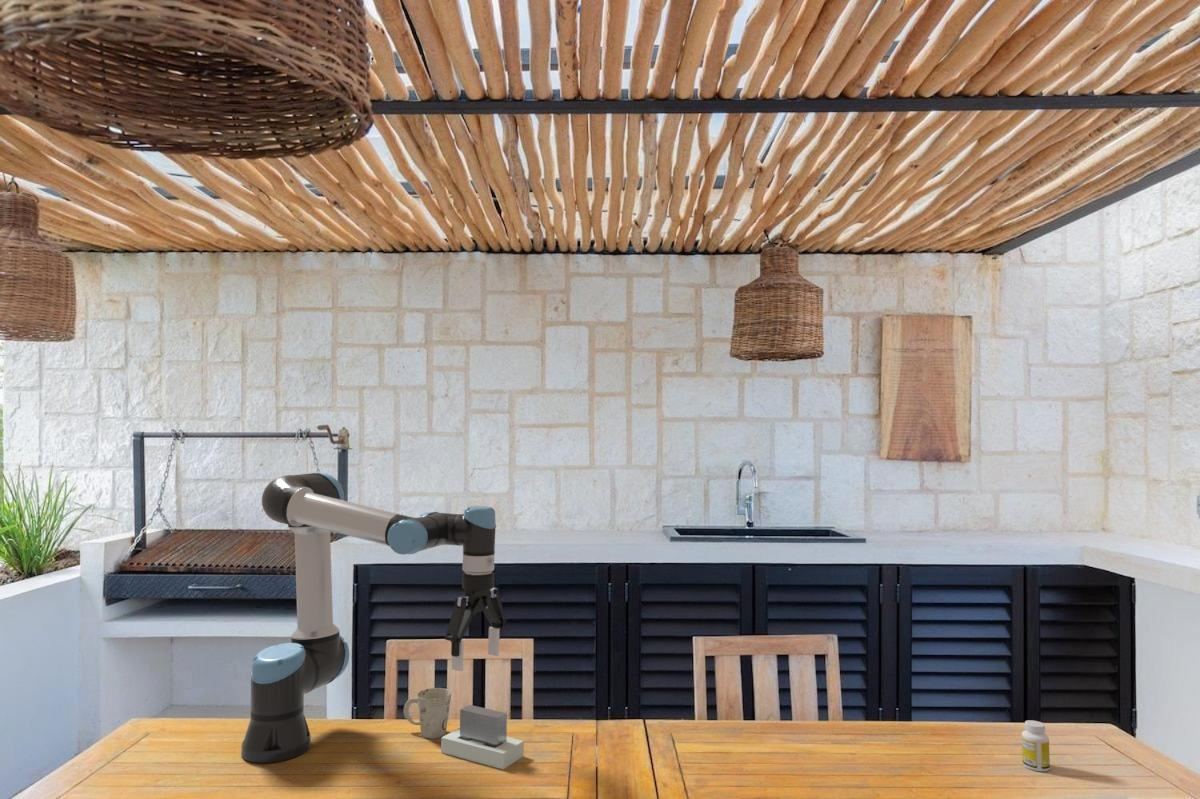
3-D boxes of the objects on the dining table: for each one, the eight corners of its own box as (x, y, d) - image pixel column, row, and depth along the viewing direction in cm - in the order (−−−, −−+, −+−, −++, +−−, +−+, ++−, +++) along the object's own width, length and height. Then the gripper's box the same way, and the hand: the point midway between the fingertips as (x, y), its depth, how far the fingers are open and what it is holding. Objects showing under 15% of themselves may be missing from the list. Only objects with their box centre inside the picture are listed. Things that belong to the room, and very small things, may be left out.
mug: (442, 742, 183) (443, 700, 183) (394, 737, 185) (395, 696, 185) (455, 728, 191) (456, 689, 191) (410, 724, 193) (410, 685, 194)
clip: (459, 752, 177) (460, 709, 177) (468, 747, 180) (469, 704, 180) (497, 762, 171) (497, 718, 172) (506, 756, 174) (506, 713, 175)
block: (441, 752, 176) (441, 737, 177) (462, 740, 183) (463, 726, 184) (503, 769, 168) (503, 753, 168) (523, 756, 175) (523, 740, 175)
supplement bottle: (1046, 763, 172) (1045, 720, 173) (1052, 774, 167) (1051, 729, 168) (1020, 760, 174) (1019, 717, 175) (1025, 770, 169) (1024, 726, 169)
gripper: (456, 582, 166) (453, 679, 165) (521, 565, 187) (519, 651, 187) (430, 578, 169) (428, 673, 168) (497, 562, 191) (495, 646, 190)
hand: (476, 662), depth 177 cm, fingers open, 13 cm apart
